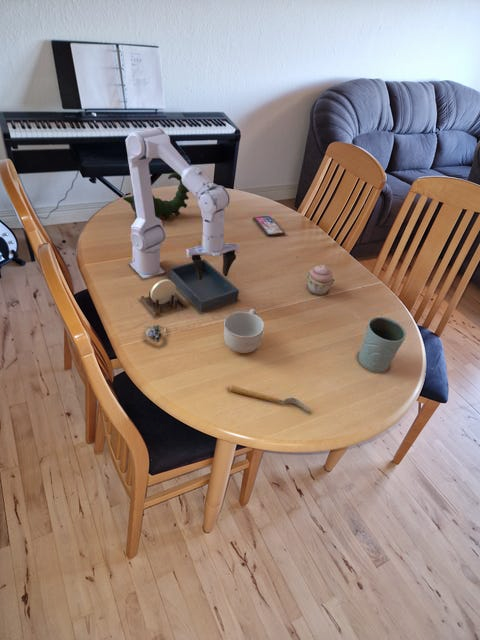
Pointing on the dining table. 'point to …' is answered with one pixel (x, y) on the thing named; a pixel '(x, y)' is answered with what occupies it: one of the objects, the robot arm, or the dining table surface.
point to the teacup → (243, 331)
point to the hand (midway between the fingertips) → (212, 276)
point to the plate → (163, 291)
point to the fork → (267, 397)
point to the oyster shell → (154, 332)
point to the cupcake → (320, 279)
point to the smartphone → (268, 226)
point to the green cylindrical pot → (381, 343)
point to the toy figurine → (165, 206)
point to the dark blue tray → (203, 285)
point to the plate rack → (163, 308)
